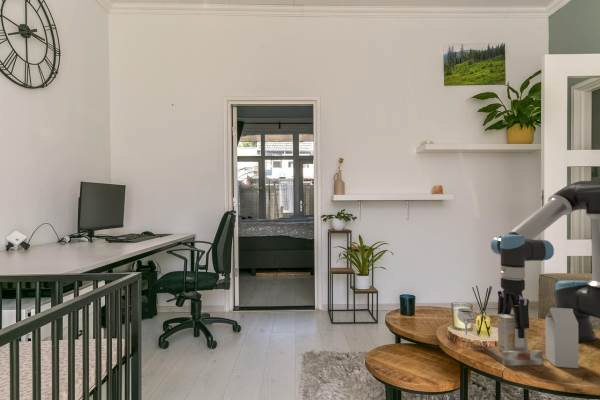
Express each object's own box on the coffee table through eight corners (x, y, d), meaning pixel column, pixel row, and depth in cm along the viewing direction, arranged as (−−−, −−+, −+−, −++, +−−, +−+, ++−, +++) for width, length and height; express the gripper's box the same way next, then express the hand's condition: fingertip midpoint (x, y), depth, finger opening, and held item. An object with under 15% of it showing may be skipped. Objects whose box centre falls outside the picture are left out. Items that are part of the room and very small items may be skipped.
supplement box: (518, 349, 136) (518, 313, 137) (528, 354, 131) (527, 316, 132) (497, 350, 135) (496, 313, 136) (506, 355, 130) (505, 317, 131)
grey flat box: (518, 350, 140) (518, 338, 140) (543, 364, 128) (543, 351, 128) (483, 351, 139) (483, 339, 139) (504, 366, 126) (504, 352, 127)
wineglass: (453, 339, 151) (453, 309, 152) (462, 336, 156) (462, 307, 156) (470, 344, 146) (470, 313, 146) (478, 340, 150) (478, 310, 150)
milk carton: (578, 368, 125) (578, 311, 125) (554, 367, 126) (554, 310, 126) (567, 360, 132) (567, 306, 132) (545, 358, 133) (545, 305, 133)
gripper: (486, 273, 143) (486, 334, 142) (521, 283, 124) (521, 354, 123) (505, 273, 143) (505, 333, 143) (542, 283, 124) (542, 353, 124)
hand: (512, 343), depth 133 cm, fingers open, 6 cm apart
